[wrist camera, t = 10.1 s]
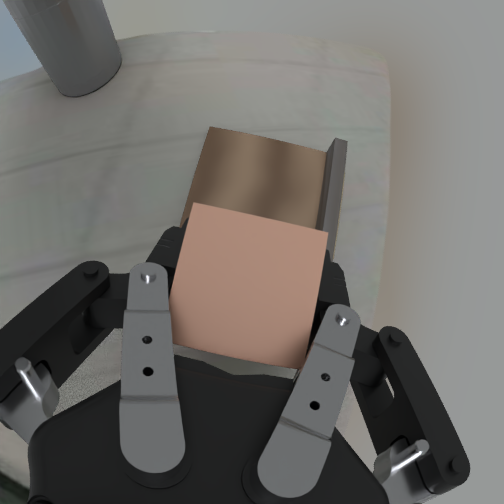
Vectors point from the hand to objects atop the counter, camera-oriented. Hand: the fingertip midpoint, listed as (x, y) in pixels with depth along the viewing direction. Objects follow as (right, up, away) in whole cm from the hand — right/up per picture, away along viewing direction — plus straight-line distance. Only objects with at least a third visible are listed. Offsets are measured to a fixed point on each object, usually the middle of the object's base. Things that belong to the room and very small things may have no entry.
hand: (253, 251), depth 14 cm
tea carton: (-1, -3, +5) cm, 6 cm away
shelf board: (+1, +4, +16) cm, 16 cm away
